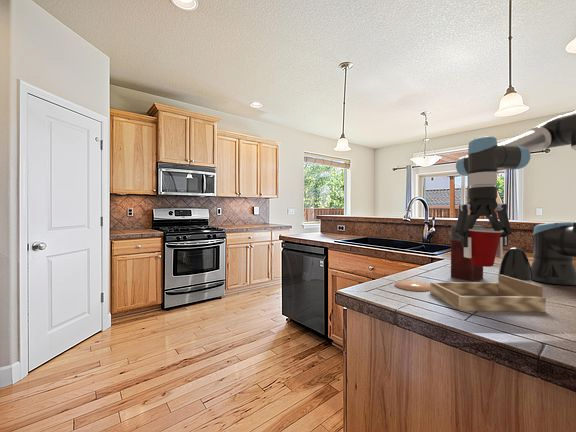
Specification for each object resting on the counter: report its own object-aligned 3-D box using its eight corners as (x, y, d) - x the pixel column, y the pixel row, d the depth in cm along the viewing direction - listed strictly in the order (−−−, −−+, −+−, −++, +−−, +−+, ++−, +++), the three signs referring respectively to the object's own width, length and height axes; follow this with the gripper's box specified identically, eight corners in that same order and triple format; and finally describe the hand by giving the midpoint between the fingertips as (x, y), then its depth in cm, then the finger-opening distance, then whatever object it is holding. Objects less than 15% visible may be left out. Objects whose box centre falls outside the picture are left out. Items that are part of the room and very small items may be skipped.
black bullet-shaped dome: (526, 284, 112) (527, 246, 111) (536, 291, 102) (537, 249, 102) (495, 282, 116) (495, 245, 116) (502, 288, 106) (502, 248, 106)
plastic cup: (495, 270, 82) (495, 229, 82) (456, 264, 91) (456, 227, 91) (510, 265, 88) (509, 227, 88) (472, 261, 97) (471, 226, 97)
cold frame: (499, 293, 98) (499, 274, 98) (545, 311, 80) (545, 287, 80) (430, 293, 99) (430, 273, 99) (460, 310, 81) (460, 286, 81)
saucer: (422, 282, 114) (422, 280, 114) (439, 291, 101) (439, 288, 101) (390, 282, 114) (390, 280, 114) (403, 291, 101) (403, 288, 101)
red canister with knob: (486, 279, 120) (486, 214, 120) (472, 283, 114) (473, 214, 114) (463, 276, 127) (464, 214, 127) (450, 278, 121) (450, 214, 121)
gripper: (508, 187, 93) (508, 255, 93) (441, 188, 93) (442, 255, 93) (526, 185, 85) (527, 258, 86) (454, 186, 86) (455, 259, 86)
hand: (483, 257), depth 89 cm, fingers closed on plastic cup, 9 cm apart
